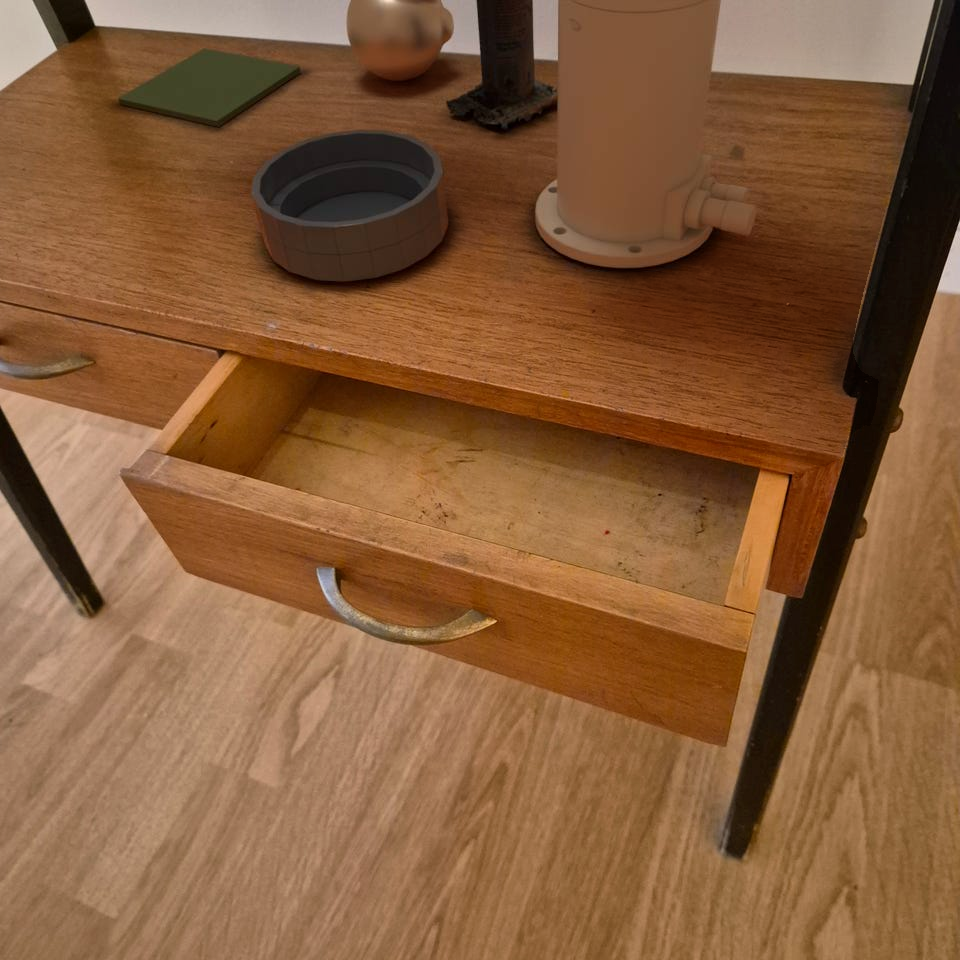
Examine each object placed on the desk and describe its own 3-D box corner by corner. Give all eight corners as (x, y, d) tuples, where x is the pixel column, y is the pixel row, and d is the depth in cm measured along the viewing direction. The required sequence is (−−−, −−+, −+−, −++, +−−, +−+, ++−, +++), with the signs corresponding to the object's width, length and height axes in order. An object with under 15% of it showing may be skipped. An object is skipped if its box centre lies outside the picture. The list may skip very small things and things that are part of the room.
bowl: (480, 206, 65) (476, 149, 62) (383, 304, 58) (373, 244, 54) (336, 172, 70) (325, 117, 67) (229, 257, 62) (211, 200, 59)
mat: (301, 72, 83) (299, 66, 83) (218, 127, 77) (216, 120, 76) (205, 54, 88) (204, 48, 87) (119, 104, 81) (117, 98, 80)
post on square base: (511, 139, 72) (506, -21, 63) (442, 115, 76) (428, -39, 67) (577, 98, 76) (580, -57, 67) (508, 77, 80) (503, -72, 71)
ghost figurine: (436, 102, 77) (424, -22, 70) (339, 93, 80) (318, -28, 72) (469, 60, 83) (461, -59, 76) (378, 52, 85) (362, -63, 78)
